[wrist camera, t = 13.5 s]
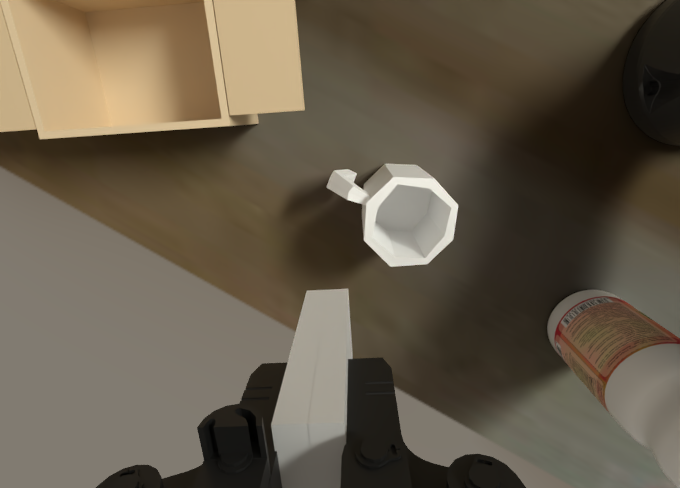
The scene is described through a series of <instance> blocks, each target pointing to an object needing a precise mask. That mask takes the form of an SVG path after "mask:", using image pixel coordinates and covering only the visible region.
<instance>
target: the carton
mask: <svg viewBox="0 0 680 488" xmlns="http://www.w3.org/2000/svg"><path fill="white" fill-rule="evenodd" d="M301 110H305V106H304V95H303V84H302V73H301V62H300V50H299V39H298V28H297V17H296V5H295V0H0V132H8V131H22V130H36V129H37V131H38V135H39V138H40V139H52V138H66V137H80V136H95V135H109V134H123V133H137V132H152V131H166V130H180V129H194V128H208V127H223V126H236V125H249V124H259V122H258V114H259V113H273V112H287V111H301Z"/></svg>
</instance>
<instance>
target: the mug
mask: <svg viewBox="0 0 680 488" xmlns="http://www.w3.org/2000/svg"><path fill="white" fill-rule="evenodd" d="M356 175H357V173H355V172H353V171H351V170H349V169H345V170H334V171H333V173H332V175H331V176H330V178H329V181H328V184H327V187H326V188H328V189H330V190H331V191H333V192H335V193H336V194H338V195H340V196H342V197H343V198H345V199H347V200H349V201H353V202H356V203H359V204H362V225H363V236H364V241H365V242H366V243H367V244H368V245H369V246H370V247H371V248H372V249H373V250H374V251H375V252H376V253H377V254H378V255H379V256H380V257H381V258H382V259H383V260H384V261H385V262H386V263H387V264H388V265H389V266H390V267H394V266H408V265H423V264H428V263H429V262H430V261H431V260H432V259H433V258H434V257H435V256H436V255H438V254H439V253H440V252H441V251H442V250H443V249H444V248H445V247H446V246H447V245H448V244H449V243H450V242H451V241H452V240H453V238H454V231H455V224H456V218H457V211H458V204H457V203H456V202H455V201H454V200H453V199H452V198H451V197H450V195H449V194H448V193H447V192H446V191H445V190H444V189H443V188H442V186H441V185H440V184H439V183H438V182H437V181H436V180H435V179H434V178H433V177H432V176H430V175H429V174H428V173H427V172H425V171H424V170H423V169H421V168H420V167H419V166H417V165H406V164H384V165H383V166H382V167H381V168H380V169H379V170H378V171H377V172H376V173H375V174H374V175H373V176H371V177H370V178H369V179H368V180H367V181H366V182H365V183H364V186H363V189H362V188H360V187H359V186H357V185H356V184H355V183H354V180H355V177H356Z"/></svg>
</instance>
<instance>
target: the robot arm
mask: <svg viewBox="0 0 680 488" xmlns="http://www.w3.org/2000/svg"><path fill="white" fill-rule="evenodd" d="M623 92H624V99H625V103H626V106H627V109H628V112H629V114H630V116H631V118H632V119H633V121H634V122H635V124H636V125H637V126H638V127H639V128H640V129H641V130H642V131H643V132H644V133H645V134H647V135H648V136H649V137H651V138H653V139H655V140H657V141H659V142H662V143H665V144H669V145H675V146H680V0H666V1H665V2H663V3H662V4H661V5H660V6H659V7H658V8H657V9H656V10H655V11H654V12H653V13H652V14H651V15H650V17H649V18H648V19H647V20H646V22H645V23H644V24H643V26H642V27H641V29H640V30H639V32H638V34H637V35H636V37H635V39H634V41H633V43H632V45H631V48H630V50H629V53H628V56H627V59H626V63H625V68H624V75H623ZM352 357H353V354H352V339H351V324H350V309H349V294H348V289H331V290H311V291H307V292H306V295H305V299H304V303H303V307H302V310H301V314H300V318H299V322H298V325H297V329H296V333H295V337H294V341H293V344H292V348H291V352H290V356H289V359H288V363H269V364H268V363H267V364H262V365H260V367H258V368H257V369H256V370H255V371H254V372H253V373H252V374H251V376H250V378H249V381H248V383H247V386H246V390H245V391H244V393H243V396H242V401H240V404H235V405H229V406H225V407H223V408H220V409H218V410H216V411H214V412H212V413H211V414H210V415H208V416H207V417H206V418H205V419H204V420H203V421H202V422H201V423H200V425H199V426H198V427H197V428H198V433H199V438H200V443H201V447H202V452H203V457H204V462H203V464H202V465H201V466H199V467H197V468H195V469H192V470H190V471H187V472H184V473H180V474H177V475H174V476H170V477H167V478H164V479H161V476H160V474H159V472H158V470H157V469H156V468H154V467H151V466H149V465H135V466H132V467H128V468H125V469H122V470H120V471H118V472H116V473H115V474H113V475H111V476H109V477H108V478H107V479H105V480H104V481H103V482H102V483H101V484H100V485H98V486H97V487H96V488H526V487H525V486H524V484H523V483H522V482H521V480H520V479H519V478H518V476H517V475H516V474H515V473H514V472H513V471H512V470H511V469H510V468H509V467H508V466H507V465H505V464H504V463H502V462H500V461H499V460H497V459H495V458H493V457H490V456H485V455H481V454H470V455H464V456H462V457H460V458H457V459H456V460H455V461H454V462H453V463H452V464H451V465H450V467H444V466H441V465H437V464H433V463H430V462H428V461H425V460H423V459H421V458H419V457H417V456H416V455H414V454H413V453H412V452H411V451H410V450H409V449H408V448H407V446H406V445H405V443H404V442H403V439H402V435H401V430H400V423H399V417H398V410H397V403H396V397H395V390H394V383H393V377H392V370H391V367H390V366H389V365H388V364H387V363H386V361H385V360H384V359H383V358H362V359H352Z"/></svg>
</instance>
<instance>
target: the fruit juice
mask: <svg viewBox="0 0 680 488" xmlns="http://www.w3.org/2000/svg"><path fill="white" fill-rule="evenodd" d="M547 332H548V337H549V340H550V343H551V344H552V346H553V348H554V349H555V351H556V352H557V353H558V354H559V355H560V357H561V358H562V359H563V360H564V361H565V362H566V363H567V365H568V366H569V367H570V368H571V369H572V370H573V372H574V373H575V374H576V375H577V376H578V377H579V379H580V380H581V381H582V382H583V383H584V384H585V385H586V387H587V388H588V389H589V390H590V391H591V392H592V394H593V395H594V396H595V397H596V398H597V399H598V400H599V402H600V403H601V404H602V405H603V406H604V407H605V409H606V410H607V411H608V412H609V413H610V415H611V416H612V417H613V418H614V419H615V421H616V422H617V423H618V424H619V425H620V426H621V427H622V428H623V429H624V430H625V431H626V432H627V433H628V434H629V435H630V436H631V437H632V438H633V439H635V440H636V441H637V442H638V443H640V444H641V445H643V446H644V447H646V448H648V449H650V450H652V452H653V454H654V456H655V458H656V461H657V463H658V464H659V466H660V468H661V469H662V471H663V472H664V474H665V475H666V476H667V478H668V479H669V480H670V481H671V482H672V483H673V484H674V485H675V486H676V487H677V488H680V338H678V337H677V336H675V335H674V334H672V333H671V332H669V331H668V330H666V329H665V328H663V327H662V326H661V325H659V324H658V323H656V322H655V321H653V320H652V319H650V318H649V317H647V316H646V315H644V314H643V313H641V312H640V311H638V310H637V309H636V308H634V307H633V306H631V305H630V304H628V303H627V302H625V301H624V300H622V299H621V298H619V297H618V296H616V295H613V294H611V293H609V292H606V291H601V290H584V291H580V292H577V293H574V294H572V295H570V296H568V297H566V298H565V299H563V300H562V301H561V302H560V303H559V304H558V305H557V306H556V307H555V308H554V310H553V311H552V313H551V315H550V317H549V320H548V325H547Z"/></svg>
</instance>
